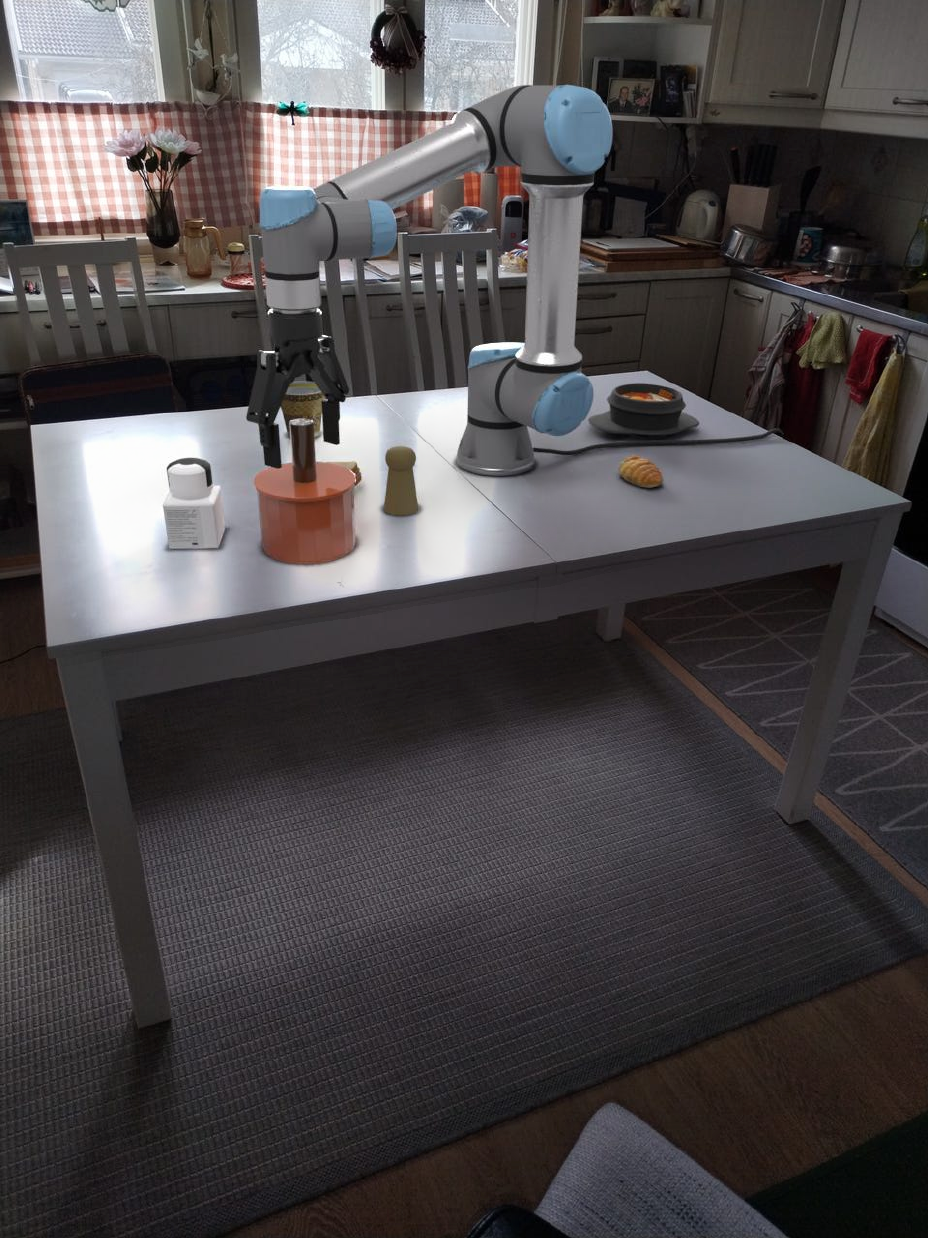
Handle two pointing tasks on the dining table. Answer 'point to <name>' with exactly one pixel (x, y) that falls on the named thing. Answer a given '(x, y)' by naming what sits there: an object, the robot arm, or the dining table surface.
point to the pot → (307, 528)
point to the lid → (304, 471)
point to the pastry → (640, 472)
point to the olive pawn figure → (400, 482)
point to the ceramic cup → (303, 404)
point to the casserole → (644, 411)
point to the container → (193, 506)
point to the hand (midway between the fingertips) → (303, 454)
